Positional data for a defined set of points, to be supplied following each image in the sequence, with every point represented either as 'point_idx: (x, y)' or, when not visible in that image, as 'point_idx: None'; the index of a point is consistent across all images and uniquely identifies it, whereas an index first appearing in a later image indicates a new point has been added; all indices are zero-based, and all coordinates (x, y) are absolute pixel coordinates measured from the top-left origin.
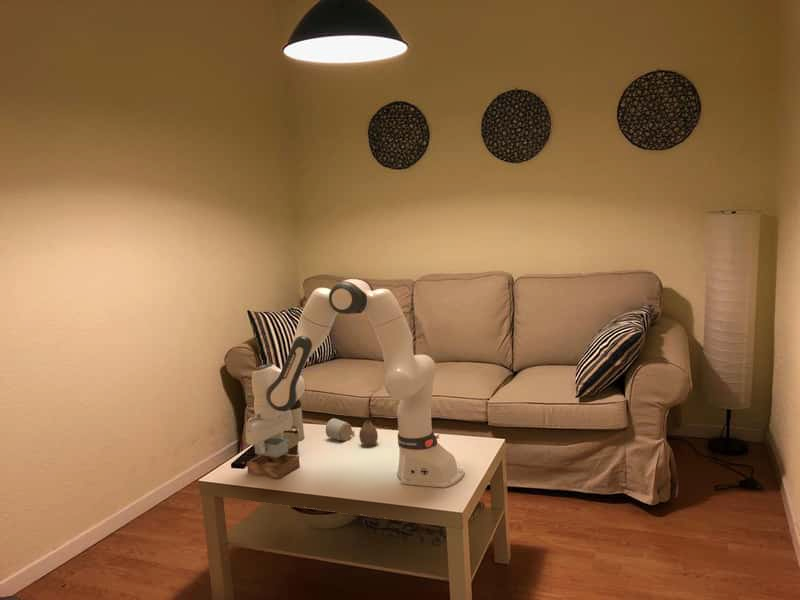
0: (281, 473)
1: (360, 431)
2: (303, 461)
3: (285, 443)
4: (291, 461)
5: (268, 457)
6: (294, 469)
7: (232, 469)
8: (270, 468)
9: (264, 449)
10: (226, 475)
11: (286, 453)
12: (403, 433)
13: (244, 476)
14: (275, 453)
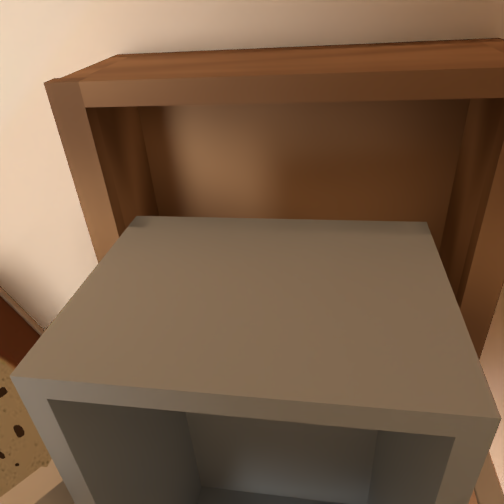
0: (443, 49)
1: None
2: (10, 130)
3: (110, 328)
4: (214, 73)
5: None
6: (204, 51)
7: None
8: None
9: (500, 497)
10: (498, 470)
11: (33, 341)
12: None
13: (489, 375)
14: (440, 286)
